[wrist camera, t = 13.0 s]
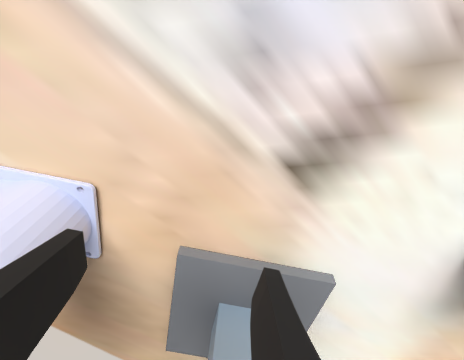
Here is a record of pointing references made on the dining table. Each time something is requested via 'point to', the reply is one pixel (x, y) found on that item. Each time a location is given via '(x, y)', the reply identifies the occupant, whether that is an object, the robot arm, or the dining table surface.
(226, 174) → the dining table surface
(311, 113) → the dining table surface
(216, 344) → the slate cube
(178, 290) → the rubber mat
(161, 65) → the dining table surface
